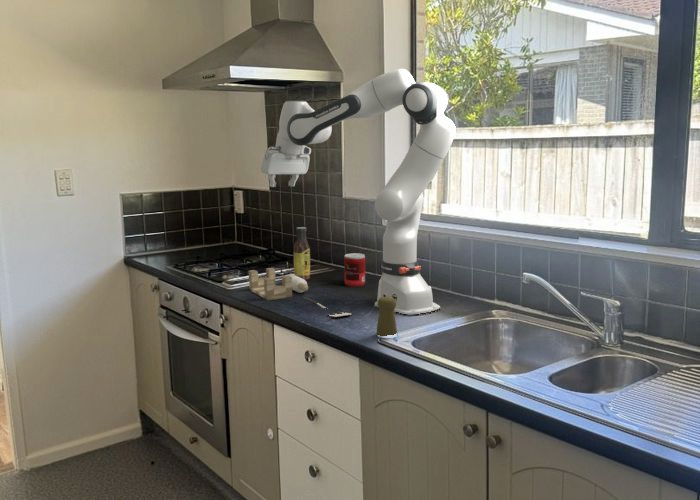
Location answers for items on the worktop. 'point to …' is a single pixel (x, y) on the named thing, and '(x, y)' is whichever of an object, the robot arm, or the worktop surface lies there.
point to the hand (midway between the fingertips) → (282, 186)
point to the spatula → (325, 307)
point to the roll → (298, 284)
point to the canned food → (354, 269)
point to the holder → (270, 285)
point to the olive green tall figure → (386, 316)
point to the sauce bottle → (302, 254)
